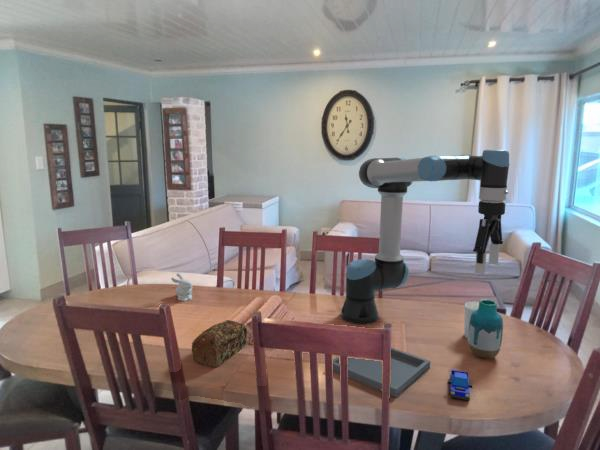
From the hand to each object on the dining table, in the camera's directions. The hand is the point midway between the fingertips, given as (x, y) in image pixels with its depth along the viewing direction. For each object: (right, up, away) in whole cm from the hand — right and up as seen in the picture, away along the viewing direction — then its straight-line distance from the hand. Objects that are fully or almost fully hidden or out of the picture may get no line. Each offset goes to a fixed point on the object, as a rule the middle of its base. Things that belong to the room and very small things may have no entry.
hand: (486, 268), depth 139 cm
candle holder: (+7, -28, +26) cm, 39 cm away
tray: (-33, -32, +3) cm, 46 cm away
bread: (-86, -31, +13) cm, 92 cm away
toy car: (-12, -35, -8) cm, 38 cm away
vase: (+4, -31, +12) cm, 33 cm away
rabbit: (-111, -20, +64) cm, 130 cm away
